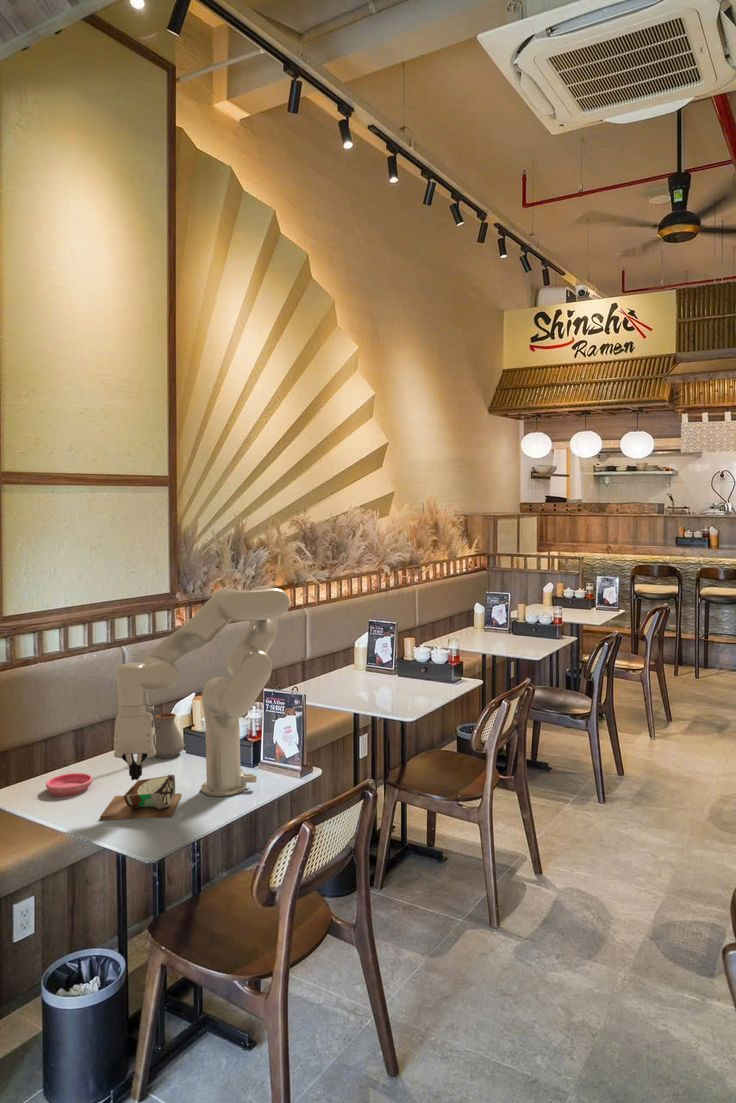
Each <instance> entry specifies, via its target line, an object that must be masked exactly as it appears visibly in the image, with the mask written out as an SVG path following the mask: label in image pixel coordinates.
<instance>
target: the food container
mask: <svg viewBox="0 0 736 1103" xmlns="http://www.w3.org/2000/svg"><path fill="white" fill-rule="evenodd" d="M175 792H176V776H175V774H167V775H164V776H157V777H151V778H144V779H138V780H136V782H135V783H134V784H133V785H132V786H131V787H130V789H129V790H127V792H126V793H125V794H123V796H124V799H125V802H126V804H127V805H128V806H129V807H131V808H134V807H156V808H158V809H162V808H165V807H167V806H169V805H170V804H171V803H172V801H173V798H174V794H176V793H175Z"/></svg>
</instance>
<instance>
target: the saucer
mask: <svg viewBox="0 0 736 1103" xmlns="http://www.w3.org/2000/svg"><path fill="white" fill-rule="evenodd" d="M93 781H94V778H93V776H92V775H91V774H89V773H81V772H78V773H77V772H74V773H72V772H71V773H65V774H64V773H63V774H60V775H57V776H54V777H52V778H49V779H48V780H47V781H46V782H45V787H46V789H47V790H48V791H49V792H51V794H52V795H53V796H57V797H69V796H70V797H71V796H75V794H76V795H78V794H81V792H82V793H84V792H85V791H87V790H88V788H89V787H90V786H91V785H92V783H93Z"/></svg>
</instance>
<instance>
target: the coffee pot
mask: <svg viewBox="0 0 736 1103" xmlns="http://www.w3.org/2000/svg"><path fill="white" fill-rule="evenodd" d="M176 717H177V714H175V713H172V712H171V713H170V712H167V713H166V712H164V713H159V714H157V715H155V719H156V720H157V724H154V728H155V737H156V746H155V751H156V754H155V756H156V757H155V756H154V757H155V758H157V757H160V758H159V759H167V758H166V757H171V758H174V757H173V756H175V757H177V756H179V755H180V753H181V752H182V751H183V750H184V749H185V746H186V744H184V743H185V741H184V739H183V737H182V735H181V733H180V731H179V729H178V726H177V725H176V722H175V718H176ZM176 755H177V756H176ZM163 757H164V758H163Z"/></svg>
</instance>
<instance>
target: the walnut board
mask: <svg viewBox="0 0 736 1103" xmlns="http://www.w3.org/2000/svg"><path fill="white" fill-rule="evenodd" d="M181 799H182V793H180V792H179V793H175V794H174V798H173V801H172V803H171V804H170V805H169V806H167V807H165V808H162V809H158V808H156V807H134V808H131V807H129V806H128V805H127V804H126V802H125V799H124V795H115V796H114V797H113V798H112V799H111V801H110V802H109V803H108V805H107V807H106V808H105V809H104V811H103V812H102V813H101V815H100V821H107V820H108V821H109V820H110V821H112V820H113V819H114V820H134V818H135V819H136V818H138V819H154V818H156V819H159V818H160V819H162V818H173V815H174V814H175V812H176V809H177V807H178V805H179V803H180V801H181Z"/></svg>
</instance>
